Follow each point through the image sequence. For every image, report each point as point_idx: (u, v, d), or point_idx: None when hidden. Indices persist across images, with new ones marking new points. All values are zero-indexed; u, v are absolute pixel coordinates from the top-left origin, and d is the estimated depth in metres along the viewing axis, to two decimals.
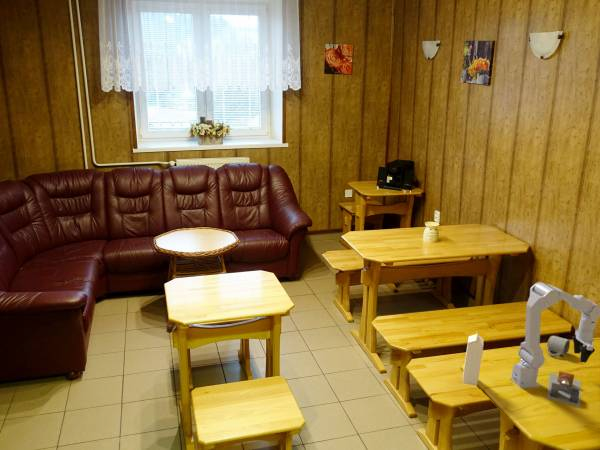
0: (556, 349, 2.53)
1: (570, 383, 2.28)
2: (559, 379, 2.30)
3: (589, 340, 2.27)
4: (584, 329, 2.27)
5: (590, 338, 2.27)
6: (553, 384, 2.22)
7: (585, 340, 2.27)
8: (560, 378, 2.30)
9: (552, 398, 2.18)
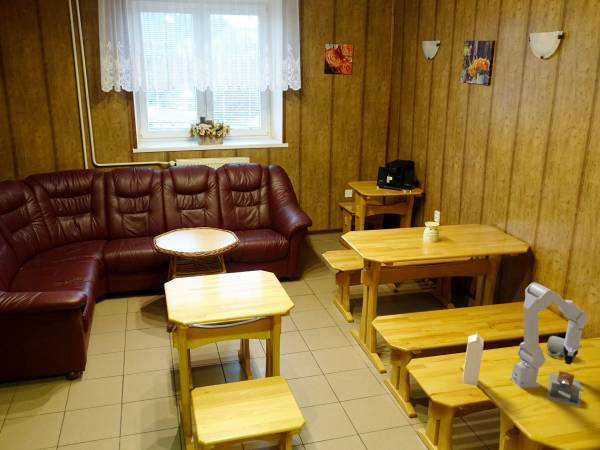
0: (556, 349, 2.53)
1: (570, 383, 2.28)
2: (559, 379, 2.30)
3: (574, 347, 2.29)
4: (572, 336, 2.28)
5: (575, 345, 2.29)
6: (553, 384, 2.22)
7: (570, 346, 2.30)
8: (560, 378, 2.30)
9: (552, 398, 2.18)
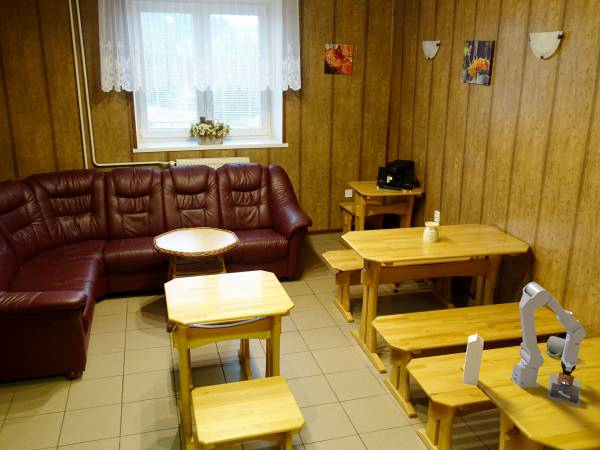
0: (555, 349, 2.53)
1: (570, 384, 2.27)
2: (559, 380, 2.29)
3: (572, 362, 2.25)
4: (568, 350, 2.25)
5: (573, 360, 2.25)
6: (553, 384, 2.22)
7: (567, 361, 2.25)
8: (560, 379, 2.29)
9: (552, 398, 2.18)
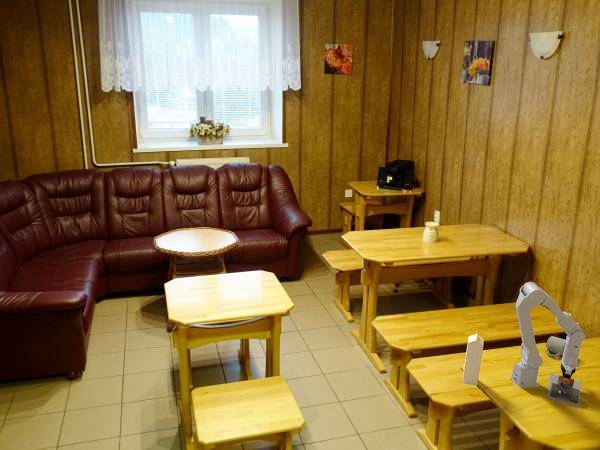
0: (555, 350, 2.52)
1: None
2: None
3: (572, 365, 2.22)
4: (567, 352, 2.23)
5: (573, 363, 2.22)
6: (553, 384, 2.22)
7: (567, 364, 2.23)
8: None
9: (552, 398, 2.18)
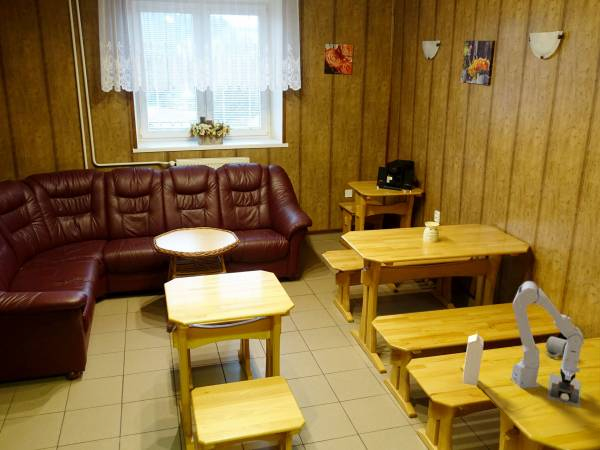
0: (555, 350, 2.52)
1: None
2: None
3: (571, 370, 2.18)
4: (564, 357, 2.19)
5: (573, 368, 2.18)
6: (553, 384, 2.22)
7: (567, 369, 2.19)
8: None
9: (552, 398, 2.18)
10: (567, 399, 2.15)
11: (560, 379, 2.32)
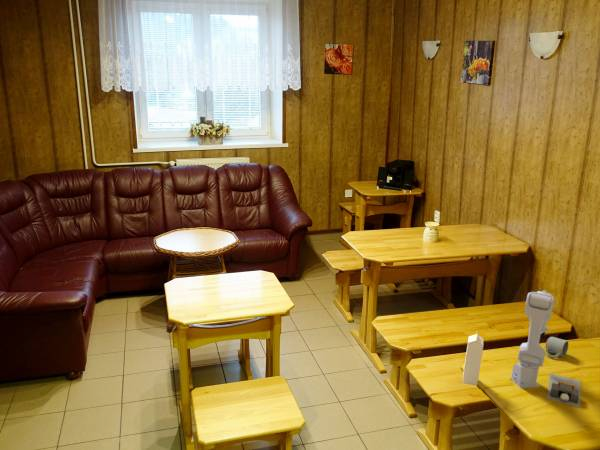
0: (554, 350, 2.52)
1: None
2: None
3: (540, 329, 2.35)
4: None
5: (542, 327, 2.35)
6: (553, 384, 2.22)
7: None
8: None
9: (552, 398, 2.18)
10: (567, 399, 2.15)
11: (560, 379, 2.32)
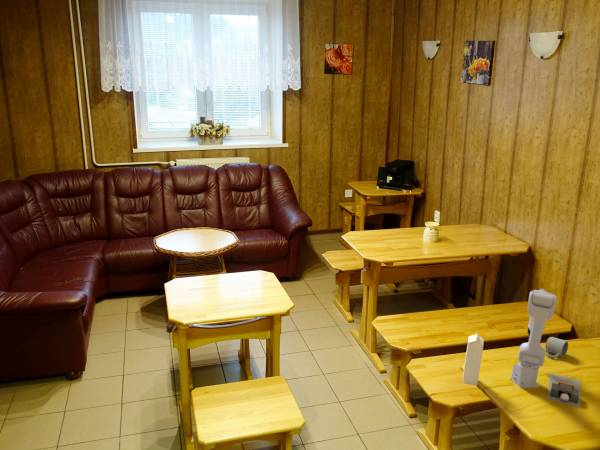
0: (554, 350, 2.52)
1: None
2: None
3: None
4: None
5: None
6: (553, 384, 2.22)
7: None
8: None
9: (552, 398, 2.18)
10: (567, 399, 2.15)
11: (560, 379, 2.32)
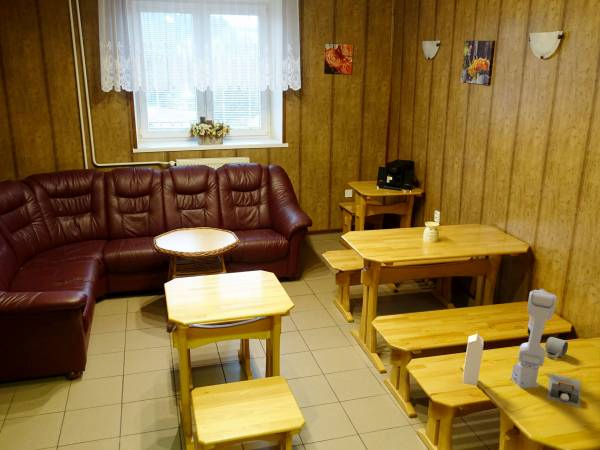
0: (554, 350, 2.52)
1: None
2: None
3: None
4: None
5: None
6: (553, 384, 2.22)
7: None
8: None
9: (552, 398, 2.18)
10: (567, 399, 2.15)
11: (560, 379, 2.32)
